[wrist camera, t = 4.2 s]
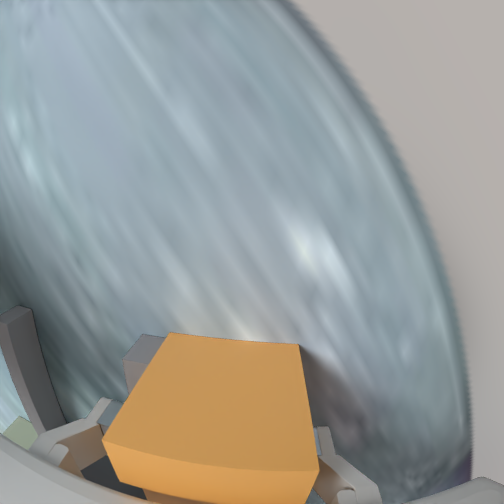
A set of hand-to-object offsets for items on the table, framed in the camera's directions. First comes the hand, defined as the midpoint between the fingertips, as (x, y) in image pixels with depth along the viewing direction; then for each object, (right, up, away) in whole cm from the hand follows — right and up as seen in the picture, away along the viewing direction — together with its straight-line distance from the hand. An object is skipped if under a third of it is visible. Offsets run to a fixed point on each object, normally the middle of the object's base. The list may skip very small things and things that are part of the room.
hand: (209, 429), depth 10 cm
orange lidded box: (+1, 0, +2) cm, 2 cm away
